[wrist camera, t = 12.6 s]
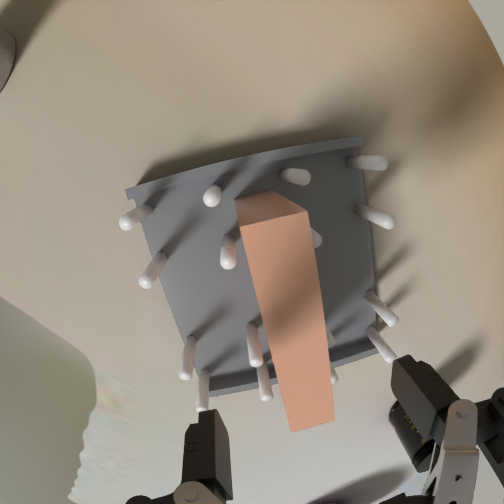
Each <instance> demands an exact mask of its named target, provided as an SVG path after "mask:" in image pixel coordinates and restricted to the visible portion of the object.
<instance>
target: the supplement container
mask: <svg viewBox="0 0 504 504" xmlns="http://www.w3.org/2000/svg"><path fill="white" fill-rule="evenodd" d="M389 422H390V424H391V425H392V427H393V429H394V431H395V432H396V434H397V436H398V438H399V439H400V441H401V443H402V445H403V447H404V448H405V450H406V452H407V454H408V456H409V457H410V459H411V461H412V464H413V465H414V467H415V469H416V471H417V472H419V473H421V472H425V471H428V470H429V468H430V464H431V459H432V454H433V450H434V445H435V441H434V439H433V438H432V439H430V440H428V441H427V442H425V441H424V439H423V438H422V436H421V435H420V433H419V432H418V430H417V429H416V427H415V425H414V424H413V422H412V421H411V419H410V418H409V416H408V415H407V413H406V412H405V410H404V409H403V407H402V406H401V404H400V403H399V401H397V402H396V403H395V404H394V405H393V407H392V408H391V410H390V413H389Z"/></svg>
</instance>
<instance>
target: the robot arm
mask: <svg viewBox="0 0 504 504" xmlns="http://www.w3.org/2000/svg"><path fill="white" fill-rule="evenodd" d="M15 51H16V46H15V41H14V38H13V37H12V36H11V35H10V34H8V33H6V32H4V31H2V30H0V91H1V89H2V88H3V86H4V84H5V83H6V80H7V78H8V76H9V74H10V71H11V69H12V66H13V62H14V58H15ZM391 388H392V391H393V394H394V395H395V397H396V398H397V400H398V401H399V403H400V404H401V406H402V407H403V409H404V410H405V412H406V413H407V415H408V416H409V418H410V419H411V421H412V422H413V424H414V425H415V427H416V429H417V430H418V432H419V433H420V435H421V436H422V438H423V439H424V441H425V442H427V441H428V440H430V439H432V438H433V439H434V441H435V445H434V450H433V454H432V459H431V464H430V468H429V472H428V476H427V479H426V482H425V484H424V487H423V490H422V493H421V495H415V496H407V497H406V495H405V493H402V494H399V495H397V496H395V497H393V498H390V499H388V500H386V501H383V502H381V503H379V504H472V500H473V495H474V490H475V484H476V477H477V470H478V462H479V450H478V449H476V445H478V446H479V448H480V449H481V450H482V452H483V454H484V455H485V457H486V459H487V460H488V462H489V463H490V465H491V467H492V468H493V470H494V472H495V473H496V475H497V477H498V478H499V480H500V482H501V484H502V485H503V487H504V388H499V389H497V390H496V391H495V392H494V393H493V395H492V397H491V399H488V400H484V401H481V402H477V403H473V402H472V401H470V400H467V399H460V398H459V397H458V396H457V395H456V394H455V393H454V391H453V390H452V389H451V388H450V387H449V386H448V385H447V383H446V382H445V381H444V380H443V379H441V377H440V376H439V374H438V373H436V371H435V370H434V369H433V368H432V367H431V365H429V364H427V363H425V362H423V361H419V362H416V361H415V360H414V359H413V357H412V356H411V355H405V356H403V357H401V358H398V359H396V360H394V361H393V367H392V377H391ZM184 443H185V445H184V454H183V468H182V481H181V484H180V485H179V486H178V487H177V488H176V490H175V491H174V492H173V493H171V494H169V495H166V496H163V497H159V498H156V499H152V500H151V499H150V498H149V497H146V496H142V495H139V496H134V497H132V498H130V499H129V500H128V501H127V502H126V504H226V501H227V500H233V491H232V478H231V463H230V447H229V437H228V432H227V429H226V427H225V425H224V423H223V421H222V419H221V417H220V415H219V412H218V410H217V409H213V410H206V411H200V412H199V420H198V423H195V424H190V426H189V427H188V429H187V431H186V433H185V441H184ZM503 501H504V500H503Z"/></svg>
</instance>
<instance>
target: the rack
mask: <svg viewBox="0 0 504 504" xmlns="http://www.w3.org/2000/svg"><path fill="white" fill-rule="evenodd" d="M364 145H365V141H364V136H363V135H361V136H353V137H346V138H339V139H332V140H326V141H320V142H314V143H308V144H302V145H296V146H291V147H286V148H281V149H276V150H271V151H266V152H261V153H257V154H252V155H247V156H243V157H239V158H234V159H230V160H226V161H222V162H218V163H214V164H210V165H206V166H202V167H199V168H195V169H191V170H188V171H184V172H180V173H177V174H173V175H170V176H167V177H163V178H160V179H157V180H153V181H150V182H147V183H144V184H141V185H138V186H134V187H131V188H128V189H125V191H126V195H127V198H128V200H130V199H133V198H134V199H135V203H136V206H137V208H135V209H133V210H132V211H130V212H128V213H126V214H124V215H122V216H121V217H120V219H119V225H120V227H121V228H122V229H123V230H130V229H132V228H133V227H134V226H136V225H137V224H138V223H140V222H141V223H142V227H143V230H144V233H145V237H146V240H147V243H148V246H149V249H150V252H151V255H152V258H153V259H152V261H151V262H150V264H149V265H148V266H147V268H146V269H145V271H144V272H143V273H142V275H141V276H140V278H139V284H140V285H141V287H143V288H145V289H149V288H151V287H152V286H153V284H154V282H155V281H156V279H157V277H158V276H159V279H160V282H161V284H162V287H163V290H164V293H165V296H166V298H167V301H168V304H169V306H170V309H171V312H172V314H173V317H174V319H175V322H176V324H177V327H178V329H179V332H180V334H181V337H182V339H183V342H184V344H185V345H184V350H183V356H182V361H181V366H180V372H179V377H180V378H181V379H182V380H190V379H191V378H192V373H193V365H194V368H195V370H196V372H197V374H198V377H199V383H198V394H197V405H196V410H197V411H198V412H200V411H206V410H208V402H209V397H214V396H220V395H225V394H231V393H236V392H241V391H246V390H251V389H256V388H259V389H260V395H261V400H263V401H270V400H272V399H273V393H272V388H271V385H273V384H277V383H278V379H277V375H276V371H275V367H274V363H273V359H272V355H271V352H270V348H269V344H268V340H267V336H266V332H265V328H264V324H263V320H262V316H261V312H260V308H259V304H258V300H257V296H256V292H255V288H254V284H253V280H252V276H251V272H250V268H249V264H248V260H247V256H246V252H245V248H244V244H243V240H242V236H241V231H240V227H239V222H238V217H237V212H236V207H235V202H234V199H236V198H240V197H245V196H249V195H253V194H257V193H262V192H266V191H270V190H274V191H275V192H277V193H279V194H280V195H282V196H284V197H285V198H287V199H289V200H290V201H292V202H294V203H295V204H297V205H299V206H300V207H302V208H303V209H305V210H307V211H308V217H309V222H310V228H311V234H312V239H313V245H314V251H315V257H316V263H317V270H318V276H319V283H320V290H321V297H322V304H323V311H324V319H325V327H326V335H327V343H328V352H329V361H330V371H331V382H332V384H334V383H336V382H337V381H338V376H337V374H336V372H335V370H334V368H335V367H339V366H342V365H345V364H348V363H351V362H354V361H357V360H360V359H363V358H366V357H368V356H371V355H374V354H377V353H379V352H380V353H381V355H382V356H383V358H384V359H385V360H386V362H387V363H388V364H391V363H393V361H394V360H396V358H397V356H396V354H395V353H394V352H393V351H392V349H391V348H390V347H389V346H388V344H387V343H386V342H385V341H384V339H383V338H382V337H381V336H380V334H379V333H378V332H377V331H376V312H377V313H378V315H379V316H380V317H381V318H382V319H383V320H384V321H385V322H386V323H387V324H388V325H389V326H390V327H393V326H395V325H396V324H397V323H398V321H399V318H398V317H397V316H396V315H395V314H394V313H393V312H392V311H391V310H390V309H389V308H388V307H387V306H386V305H385V304H384V303H383V302H382V301H381V300H380V299H379V298H378V297H377V296H376V295H375V283H374V268H373V255H372V244H371V234H370V225H369V221H371V222H373V223H375V224H377V225H380V226H382V227H384V228H386V229H392V228H393V227H394V226H395V222H396V221H395V218H394V216H392V215H390V214H387V213H385V212H382V211H379V210H376V209H374V208H371V207H368V206H367V201H366V194H365V188H364V181H363V175H362V169H369V170H380V171H384V170H386V169H387V167H388V160H387V158H386V157H385V156H377V155H369V156H359V153H358V147H357V146H364Z"/></svg>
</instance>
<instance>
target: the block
mask: <svg viewBox="0 0 504 504" xmlns="http://www.w3.org/2000/svg"><path fill="white" fill-rule="evenodd" d="M234 202H235V207H236V212H237V217H238V222H239V227H240V231H241V236H242V240H243V244H244V248H245V252H246V256H247V260H248V264H249V268H250V272H251V276H252V280H253V284H254V288H255V292H256V296H257V300H258V304H259V308H260V312H261V316H262V320H263V324H264V328H265V332H266V336H267V340H268V344H269V348H270V352H271V355H272V359H273V363H274V367H275V371H276V375H277V379H278V383H279V387H280V391H281V395H282V399H283V403H284V406H285V410H286V414H287V418H288V422H289V426H290V430H291V432H295V431H299V430H303V429H307V428H310V427H314V426H317V425H321V424H324V423H328V422H331V421H334V420H335V418H334V405H333V393H332V382H331V371H330V361H329V352H328V343H327V335H326V327H325V319H324V311H323V304H322V297H321V290H320V283H319V276H318V270H317V263H316V257H315V251H314V245H313V239H312V234H311V228H310V222H309V217H308V211H307V210H305V209H303V208H302V207H300V206H299V205H297V204H295V203H294V202H292V201H290V200H289V199H287V198H285V197H284V196H282V195H280V194H279V193H277V192H275V191H274V190H270V191H266V192H262V193H257V194H253V195H249V196H245V197H240V198H236V199H234Z"/></svg>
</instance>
